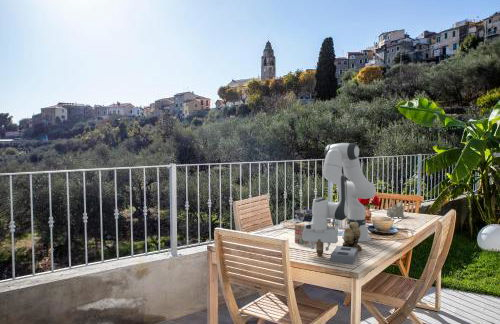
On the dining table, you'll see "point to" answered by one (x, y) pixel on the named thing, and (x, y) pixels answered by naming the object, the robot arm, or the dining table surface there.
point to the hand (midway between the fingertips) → (319, 249)
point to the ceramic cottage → (396, 210)
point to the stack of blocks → (299, 232)
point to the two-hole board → (344, 255)
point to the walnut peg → (319, 248)
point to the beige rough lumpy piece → (352, 236)
